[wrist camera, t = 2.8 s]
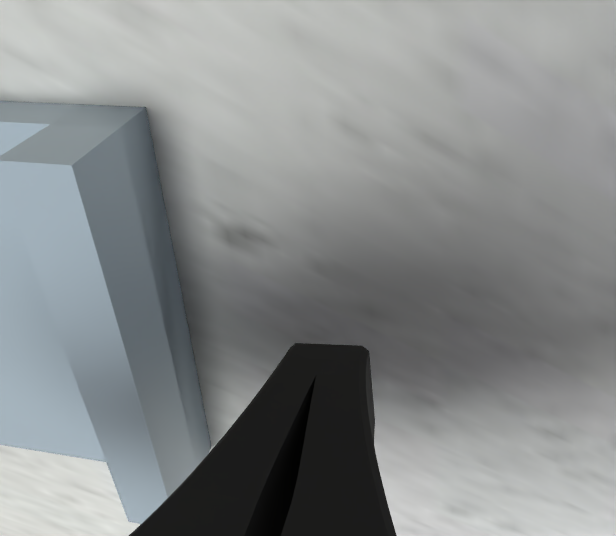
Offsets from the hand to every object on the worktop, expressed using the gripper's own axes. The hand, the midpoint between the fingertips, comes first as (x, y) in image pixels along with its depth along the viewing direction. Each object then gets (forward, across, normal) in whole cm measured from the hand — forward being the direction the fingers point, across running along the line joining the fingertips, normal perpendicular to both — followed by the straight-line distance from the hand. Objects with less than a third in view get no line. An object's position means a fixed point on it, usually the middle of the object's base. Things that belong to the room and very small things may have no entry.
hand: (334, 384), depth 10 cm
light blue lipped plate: (+2, +9, -1) cm, 9 cm away
